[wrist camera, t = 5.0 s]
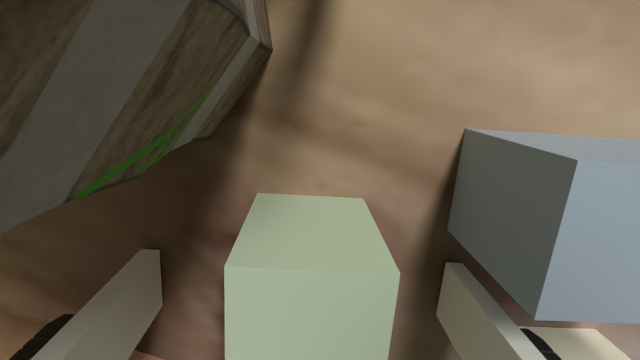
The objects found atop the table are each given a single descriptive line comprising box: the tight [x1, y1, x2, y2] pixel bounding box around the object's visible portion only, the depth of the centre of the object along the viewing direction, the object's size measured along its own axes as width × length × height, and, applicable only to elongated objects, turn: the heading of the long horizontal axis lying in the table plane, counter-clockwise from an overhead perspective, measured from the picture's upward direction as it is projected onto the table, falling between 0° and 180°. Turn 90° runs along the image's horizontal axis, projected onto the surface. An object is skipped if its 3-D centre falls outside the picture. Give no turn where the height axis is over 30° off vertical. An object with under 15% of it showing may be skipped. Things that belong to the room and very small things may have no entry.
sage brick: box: [224, 193, 400, 360], centre depth 12 cm, size 8×4×6 cm, turn 176°
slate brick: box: [447, 128, 640, 324], centre depth 12 cm, size 8×4×6 cm, turn 86°
